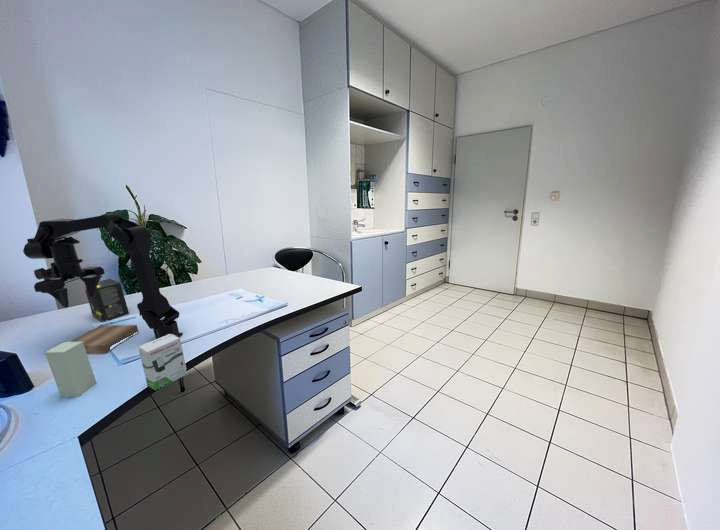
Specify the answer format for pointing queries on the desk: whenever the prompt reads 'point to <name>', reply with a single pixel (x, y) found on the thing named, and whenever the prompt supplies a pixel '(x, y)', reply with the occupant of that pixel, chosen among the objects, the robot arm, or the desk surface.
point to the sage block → (71, 368)
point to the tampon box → (107, 300)
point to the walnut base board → (105, 337)
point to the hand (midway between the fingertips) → (79, 301)
